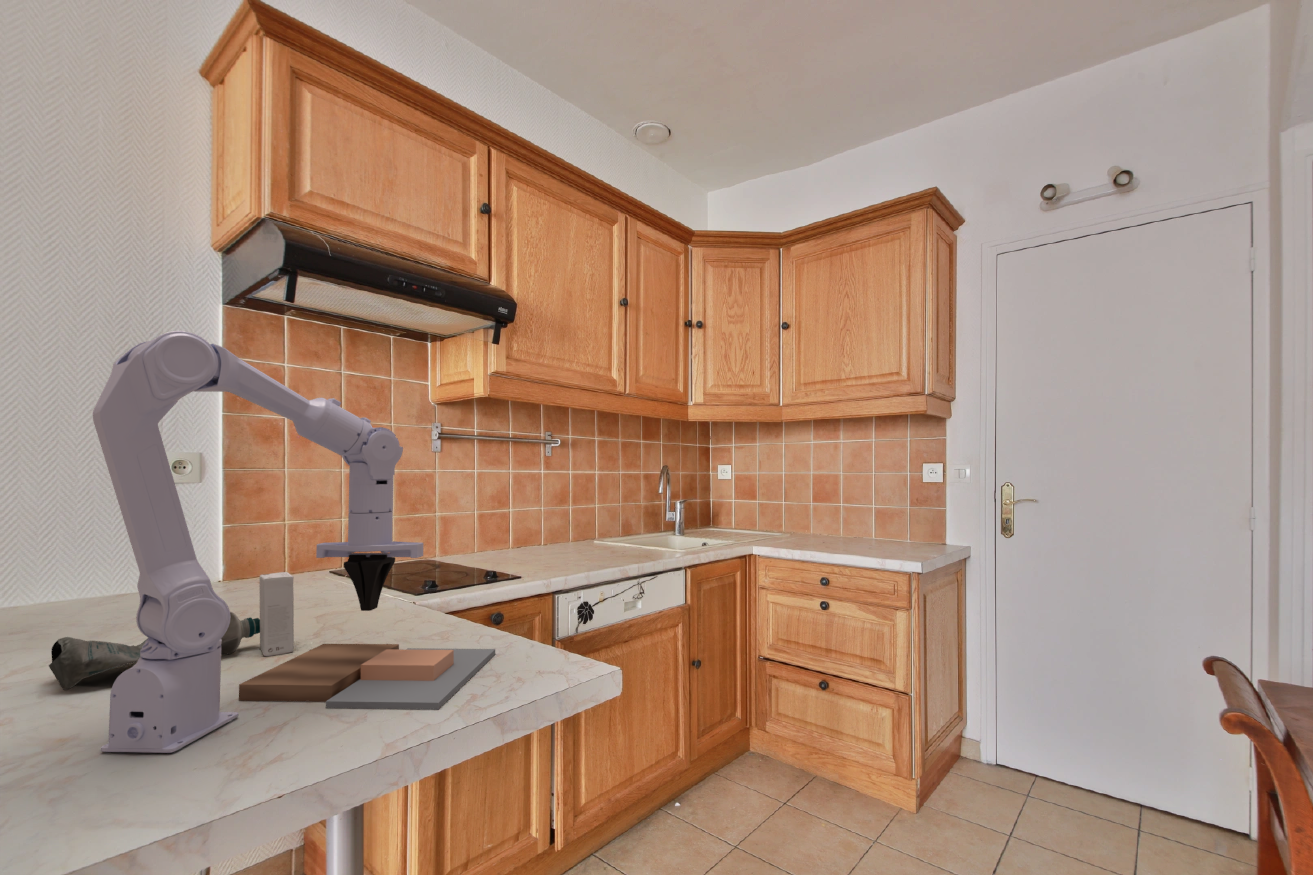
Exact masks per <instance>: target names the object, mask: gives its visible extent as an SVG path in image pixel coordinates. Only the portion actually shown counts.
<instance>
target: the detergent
mask: <svg viewBox="0 0 1313 875" xmlns="http://www.w3.org/2000/svg"><path fill="white" fill-rule="evenodd" d="M230 616H231V618H230V624H229V627H228V629H227V631H226V633H225V634H224V636H223V637H222V638H221V640H222V644H221V656H222V655H224V656H225V655H230V654H233V653H234V652H236V651H237V649H238V648H239V647H240V645H241V643H242V639H243V638H245V639H249V638H252V637H254V635H257V634H260V617H259V618H258V617H256V618H252V617H247V618H244V619H243V620H240V619H239V617H238V616H237V614H236V613H234V612H233V611H230ZM146 640H148V638H146V639H145V640H144V641H142V643H139V644H137V645H127V644H124V643H118V642H111V641H110V642H109V641H104V640H103V641H102V640H101V641H100V640H84V639H80V638H74V637H70V636H65V637H60V638H58V639H57V640H56V641H55V642H54V643H53V645H52V647H51V663H50V664H48V667H49V669H50V670H51V672H52V674H53V676H54V678H56V680H57V682H58V683H59V685H60V686H61V688H62V691H63V690H64V691H68V690H70V689H71V688H73V687H75V685H77V684H78V683H79V682H81V681H82V680H83V679H86V678H89V677H92V676H94V675H97V674H100V673H103V672H106V671H109V670H112V669H115V668H120V667H123V666H126V665H130V664H134V663H135V664H136V663H137V661H138V660H139V658H140V650H141V649H142V647H143V645H144V644H145V642H146Z"/></svg>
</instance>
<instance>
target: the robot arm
mask: <svg viewBox="0 0 1313 875" xmlns="http://www.w3.org/2000/svg"><path fill="white" fill-rule="evenodd" d="M193 392H196V393H197V392H198V393H200V392H202V393H204V392H205V393H206V392H207V393H208V392H211V393H212V392H213V393H214V392H216V393H220V392H225V393H226V392H227V393H231V394H233V395H235V396H238V397H239V398H241V399H244V400H246V401H248V402H251V403H253V404H254V405H256V406H259V407H261V408H264V409H266V410H268V411H270V412H273V413H275V414H277V415H279V416H281V417H282V418H283V417H284V418H286V419H288V420H290V421H292V423H293V425H294V428H295V432H296V434H297V435H299V436H300V437H303V438H304V439H306V440H309V441H311V442H313V443H315V444H316V445H319V446H321V447H323V448H325V449H327V450H328V451H331V452H333V453H334V454H337V455H339V456H341V457H342V459H343V461H344V462H345V463H346V464H347V465H348V466H349V471H348V474H349V475H348V476H349V477H348V479H349V480H348V519H347V520H348V524H347V525H348V526H347V527H348V528H347V529H348V530H347V541H342V542H341V541H339V542H334V541H333V542H321V543H317V544H316V551H315V552H316V555H315V556H316V559H322V558H323V559H324V558H325V559H326V558H347V561H344V562H343V569H345V571H346V573H347V574H348V576H349V578H350V580H351V582H352V584H353V586H354V589H355V592H356V595H357V598H358V602H359V608H360V611H361V612H362V611H363V612H364V611H365V612H368V611H369V612H371V611H373V610H375V609H378V606H379V600H380V597H381V594H382V591H383V587H384V584H385V582H386V581H387V577H388V576H389V574H390V571H391V570H392V568H393V566H394V564H395V563H396V558H411V559H419V558H421V557H424V542H413V541H412V542H411V541H395V540H394V541H393V532H394V531H393V530H394V529H393V520H394V476H395V468H396V465H397V464H398V462H400V460H401V457H403V456H402V455H403V451H404V447H403V446H400V441H399V439H398V437H396V433H394V432H393V431H392V430H390V429H389V428H386V427H384V426H383V427H381V426H380V427H378V426H377V427H373V426H372V424H371V422H372V420H371V419H370V418H367V417H366V416H365V417H359V416H357V415H356V414H354V413H352V412H350V411H348V410H347V409H345V408H343V407H341V404H342V402H341V401H340V400H337V399H336V398H335V397H333V398H328V399H327V398H324V397H317V398H314V399H310V400H309V398H308V399H307V398H306V397H304V396H303V395H301V394H299V393H298V392H296V391H294V390H293V389H292V388H289V387H288V386H286V385H285V384H283V383H281V382H279V381H277V380H276V379H274V378H273V377H271V376H269V375H268V374H266V373H264V372H263V371H261V370H259V369H258V368H256V367H254V366H252V365H251V364H249V363H248V362H246V361H245V360H243V359H241V358H240V357H238V356H237V355H235V354H234V353H233V352H231V350H228V349H227V348H226V347H223V346H221V345H218V344H216V343H211V344H210V343H209V342H208V341H207V340H206V339H204V338H203V337H202V336H199V334H196V333H193V332H190V331H186V330H171V331H167V332H164V333H162V334H159V335H158V336H156V337H155V338H153V339H151V340H148V341H143V342H140V343H138V344H136V345H134V346H132V347H131V348H130V349H129V350H128V351H126V352H125V353H124V354H122V356H120V357H119V358H117V360H115V361H114V362H113V364H112V368H111V373H110V375H109V378H107V382H106V383H105V385H104V388H103V389H102V392H101V393H100V395H99V398H98V400H97V402H96V404H95V406H94V408H93V411H92V421H93V424H94V428H95V431H96V434H97V437H98V441H99V444H100V448H101V450H102V455H103V456H104V460H105V463H106V467H107V470H108V473H109V477H110V480H111V483H112V487H113V489H114V492H115V495H116V496H115V497H116V499H117V502H118V505H119V506H118V507H119V510H120V512H121V516H122V520H123V522H124V526H125V529H126V532H127V535H128V538H129V541H130V545H131V548H132V552H133V554H134V557H135V561H136V565H137V568H138V571H139V576H138V582H137V590H138V594H139V605H138V608H137V611H136V616H135V618H136V620H135V621H136V626H137V628H138V630H139V631H140V633H142V635H143V636H146V637H147V639H148V640H146V639H145V640H146V642H145V644H144V645H143V647H142V649H141V650H140V658H139V660H138V661H137V663H135V664H134V665H133V666H131V667H130V668H128V669H125V670H124V671H122V673H120V674H119V675H118V676H117V677H116V679H115V680H114V682H113V684H112V687H111V689H110V694H109V697H110V700H109V719H108V720H109V721H108V722H109V724H108V743H106V744H103V745H102V746H101V747H100V752H102V753H104V752H105V753H106V752H107V753H108V752H109V753H111V752H112V753H154V754H155V753H159V754H163V753H164V754H165V753H167V754H170V753H174V752H177V751H178V750H181V749H182V748H184V747H186V746H188V745H189V744H191V743H193V742H194V741H197V740H198V739H200V738H202V737H204V736H205V735H207V734H209V733H211V732H213V731H214V730H216V729H218V728H220V727H222V726H224V725H225V724H227V723H229V722H230V721H233V720H234V719H236V718H238V717H239V712H237V711H220V710H221V708H220V707H221V702H220V701H221V675H222V674H221V673H222V655H221V644H222V640H221V638H222V637H223V636H224V634H225V633H226V631H227V629H228V627H229V624H230V618H231V616H230V612H231V610H230V607H229V606H228V604H227V602H226V601H225V600H224V599H223V598H222V597H220V596H219V595H218V594H217V593H216V592H215V591H214V588H213V585H212V582H211V579H210V577H209V576H208V575H207V573H206V571H205V570H204V568H203V567H202V566H201V564H200V563H199V561H198V559H197V556H196V552H195V548H194V545H193V542H192V539H191V535H190V531H189V529H188V524H187V520H186V516H185V515H184V514H185V513H184V511H183V507H182V504H181V500H180V497H179V494H178V493H179V492H178V490H177V487H176V486H177V485H176V483H175V479H174V477H173V473H172V469H171V466H170V462H169V459H168V456H167V452H166V448H165V446H164V441H163V438H162V434H161V432H160V431H161V430H160V428H159V423H160V422H161V420H162V419H163V418H164V417H165V416H166V415H167V414H168V413H169V412H170V410H172V408H173V407H174V406H175V405H176V404H177V403H178V401H179V400H181V399H183V398H184V397H186V396H187V395H189V394H191V393H193Z"/></svg>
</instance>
